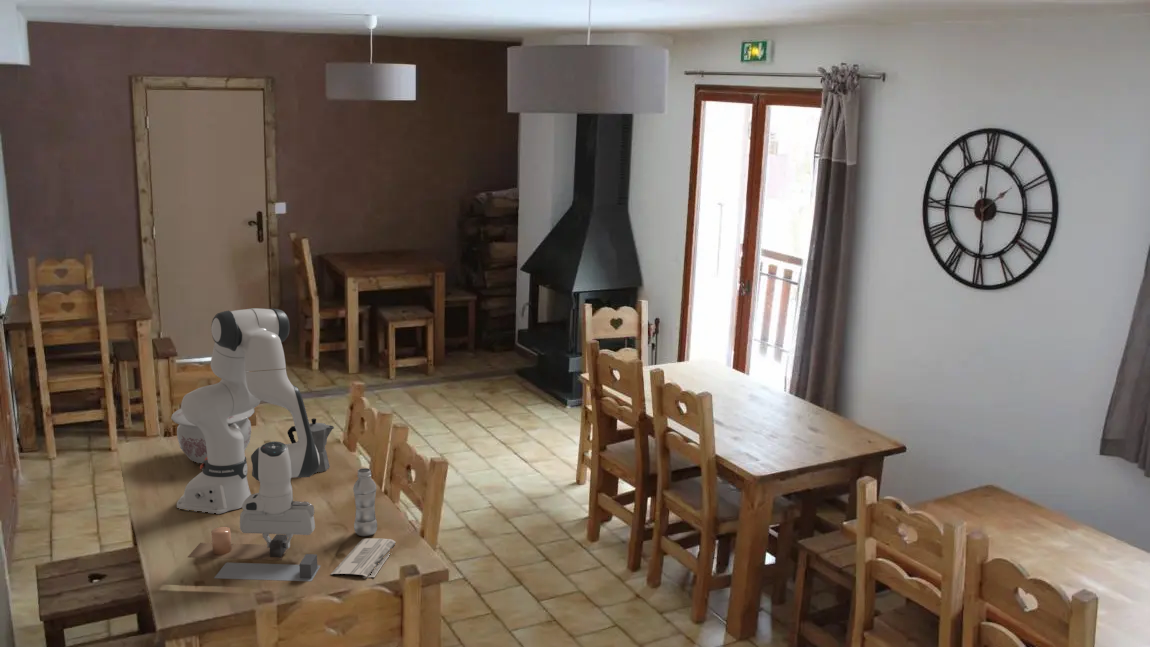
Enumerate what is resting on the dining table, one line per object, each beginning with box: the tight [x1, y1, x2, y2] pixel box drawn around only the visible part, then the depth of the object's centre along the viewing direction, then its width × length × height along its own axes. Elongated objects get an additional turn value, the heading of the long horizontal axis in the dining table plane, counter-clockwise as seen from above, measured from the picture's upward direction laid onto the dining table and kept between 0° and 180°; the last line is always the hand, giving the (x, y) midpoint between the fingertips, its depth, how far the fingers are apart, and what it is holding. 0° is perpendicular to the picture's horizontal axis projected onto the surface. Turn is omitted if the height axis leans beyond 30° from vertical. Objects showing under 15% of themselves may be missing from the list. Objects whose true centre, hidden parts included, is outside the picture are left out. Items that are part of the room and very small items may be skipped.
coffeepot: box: [287, 418, 335, 474], centre depth 348 cm, size 15×9×18 cm, turn 102°
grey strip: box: [213, 553, 321, 582], centre depth 274 cm, size 26×9×5 cm, turn 88°
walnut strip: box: [187, 534, 292, 561], centre depth 285 cm, size 26×9×5 cm, turn 88°
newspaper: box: [330, 537, 397, 580], centre depth 285 cm, size 23×12×2 cm, turn 169°
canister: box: [211, 526, 232, 555], centre depth 285 cm, size 5×5×6 cm
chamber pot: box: [170, 408, 255, 464], centre depth 355 cm, size 28×28×21 cm
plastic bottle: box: [352, 467, 378, 537], centre depth 298 cm, size 6×7×20 cm
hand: (278, 547), depth 285 cm, fingers closed on walnut strip, 3 cm apart
